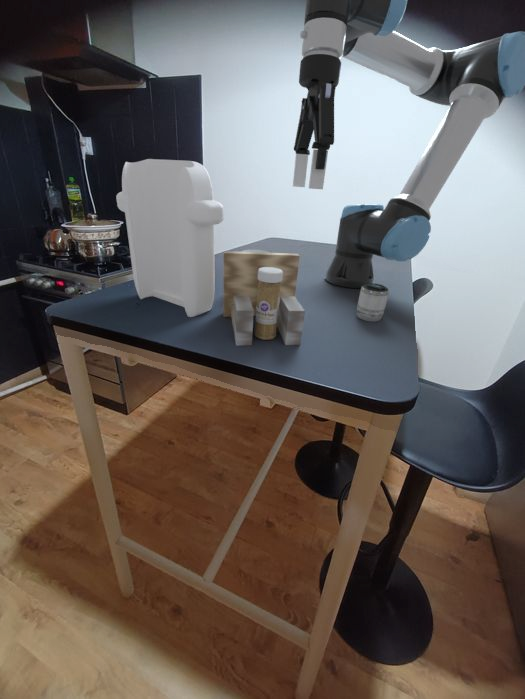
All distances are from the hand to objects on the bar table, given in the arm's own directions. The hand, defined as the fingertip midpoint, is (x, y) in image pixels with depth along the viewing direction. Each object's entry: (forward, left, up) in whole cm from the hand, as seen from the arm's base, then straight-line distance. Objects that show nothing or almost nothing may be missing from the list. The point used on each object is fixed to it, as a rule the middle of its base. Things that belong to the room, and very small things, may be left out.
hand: (306, 188), depth 68 cm
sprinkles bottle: (+10, +18, -27) cm, 34 cm away
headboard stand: (+10, +14, -27) cm, 32 cm away
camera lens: (-17, +8, -27) cm, 33 cm away
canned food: (+9, -9, -27) cm, 30 cm away
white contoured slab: (+29, -1, -27) cm, 39 cm away
